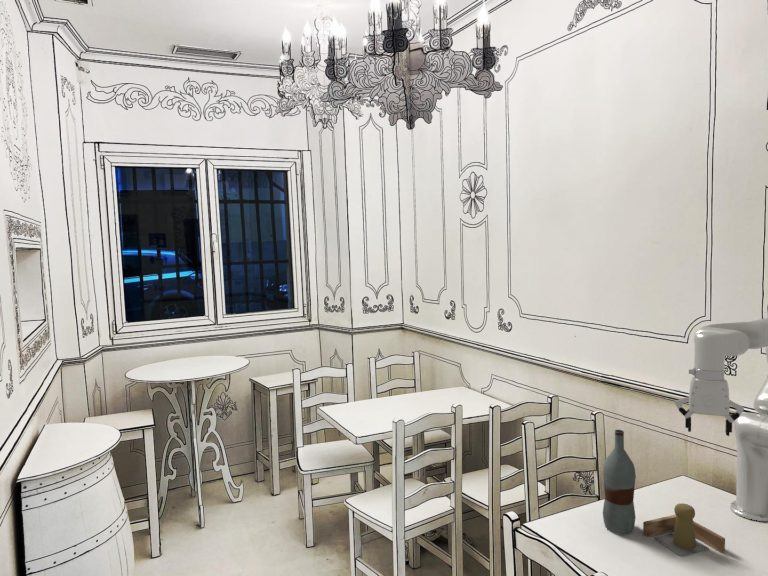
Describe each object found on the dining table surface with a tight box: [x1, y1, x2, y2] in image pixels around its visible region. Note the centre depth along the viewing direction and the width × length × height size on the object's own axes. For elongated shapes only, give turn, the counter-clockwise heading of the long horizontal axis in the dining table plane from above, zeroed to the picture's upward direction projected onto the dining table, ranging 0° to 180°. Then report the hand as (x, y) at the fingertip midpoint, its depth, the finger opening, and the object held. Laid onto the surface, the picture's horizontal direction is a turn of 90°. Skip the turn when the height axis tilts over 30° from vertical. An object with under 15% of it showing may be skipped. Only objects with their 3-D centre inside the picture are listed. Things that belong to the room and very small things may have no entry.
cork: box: [672, 502, 697, 549], centre depth 160 cm, size 6×6×11 cm
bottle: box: [602, 429, 637, 535], centre depth 169 cm, size 9×9×30 cm
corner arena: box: [642, 514, 726, 557], centre depth 161 cm, size 14×15×4 cm
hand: (708, 432), depth 164 cm, fingers open, 9 cm apart
